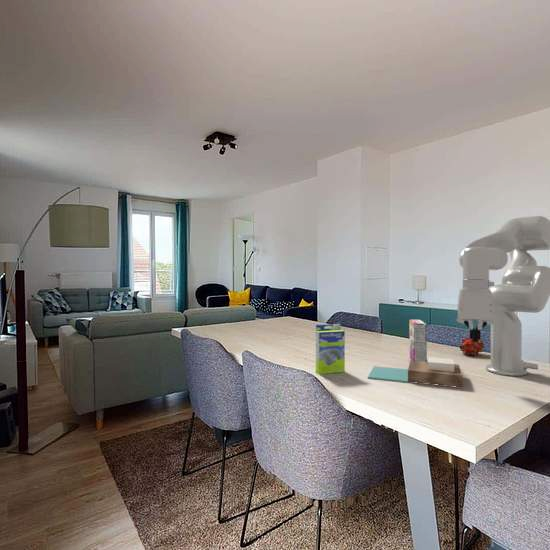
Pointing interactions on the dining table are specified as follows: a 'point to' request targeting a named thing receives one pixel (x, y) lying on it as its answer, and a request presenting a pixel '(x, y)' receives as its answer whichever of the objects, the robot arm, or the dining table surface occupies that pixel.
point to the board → (433, 375)
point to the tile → (441, 364)
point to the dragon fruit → (471, 346)
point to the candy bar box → (418, 340)
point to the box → (330, 349)
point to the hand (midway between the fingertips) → (474, 341)
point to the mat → (389, 374)
